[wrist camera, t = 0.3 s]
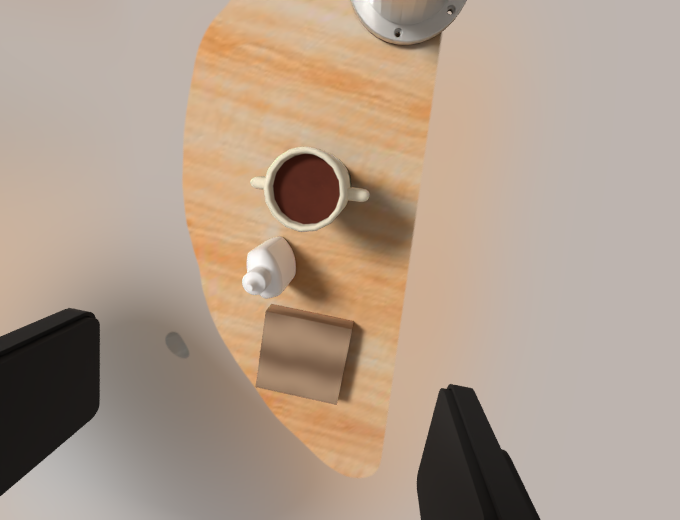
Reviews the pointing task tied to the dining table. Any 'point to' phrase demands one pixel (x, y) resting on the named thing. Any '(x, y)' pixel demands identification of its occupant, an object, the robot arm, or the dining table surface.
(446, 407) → the robot arm
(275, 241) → the eye dropper bottle
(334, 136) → the dining table surface
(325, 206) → the character mug
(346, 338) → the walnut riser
